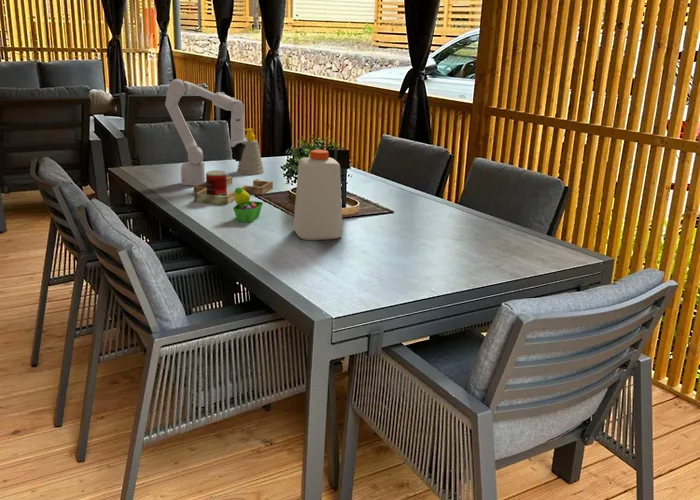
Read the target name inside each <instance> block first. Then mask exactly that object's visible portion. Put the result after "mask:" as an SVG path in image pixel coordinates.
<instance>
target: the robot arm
mask: <svg viewBox="0 0 700 500" xmlns="http://www.w3.org/2000/svg"><path fill="white" fill-rule="evenodd" d="M185 93H186V94H185ZM184 94H185V95H191V94H194V95H197V96H200V97H202V98H204V99H207V100H210V101H211V102H212V104H213V105H214V106H216V107H218V108H220V109H223V110H224V111H227V112H228V111H230V112H231V113H230V115H231V117H230V139H229V140H230V141H228V147H230V149H231V150H232V153H233V157H234V160H235V162H239V161H241V159H242V154H243V151H244V148H245V146H246V144H243V142H247V140H246V137H245V135H246V134H245V133H246V132H245V129H246V128H245V114H244V113H245V112H246V111H245V110H246V108H245V105H244V103H243V102H242V101H241V100H239V98H237V99H236V97H231V96H229V95H227V94H225V92H223V91H221V92H219V91H217V92H215V93H214V92H213V91H210V90H208V89H206V88H204V87H201V86H199V85H197V84H195V83H192V82H190V81H187V80H183V79H181V78H175V79H173V80H172V81H171V82H170V83H169V85H168V88H167V91H166V97H165V101H164V102H165V108H166V110H167V112H168V114H169V116H170V118H171V121H172V122H173V125H174V126H175V129H176V130H177V133H178V134H179V137H180V138H181V141H182V143H183V145H184V148H185V151H186V153H187V160H188V161H186V162H183V163H182V164H181V167H180V179H181V180H180V181H181V183H180V185H182V186H190V187H191V186H193V187H195V186H198V185H200V184H202V183H204V182H206V172H205V167H206V166H205V161H203V160H204V151H203V149H202V148H201V147H200V146H198V143H197V142H196V140H195V139H194V136H193V134H192V133H191V130H190V128H189V126H188V124H187V122H186V120H185V118H184V116H183V113H182V111H181V109H180V107H179V102H180V99H181V98H182V97H183V95H184Z"/></svg>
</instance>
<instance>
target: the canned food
mask: <svg viewBox="0 0 700 500" xmlns="http://www.w3.org/2000/svg"><path fill="white" fill-rule="evenodd" d="M226 178H227V172H226V171H225V170H208V171H206V172H205V181H206V187H207V194H208V195H218V196H226V195H228V194H227V193H228V192H227V191H228V190H227V189H228V186H227V179H226Z"/></svg>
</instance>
